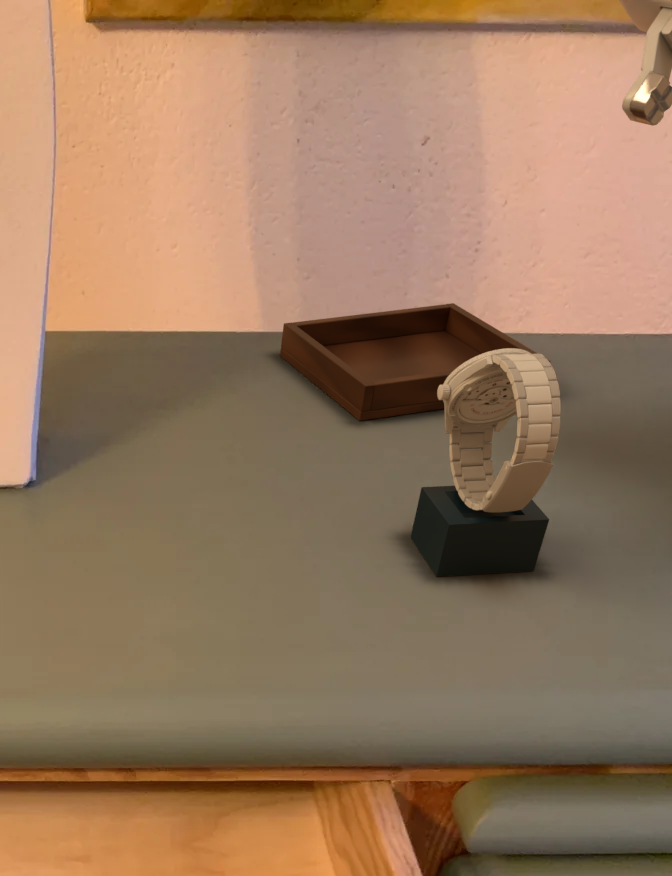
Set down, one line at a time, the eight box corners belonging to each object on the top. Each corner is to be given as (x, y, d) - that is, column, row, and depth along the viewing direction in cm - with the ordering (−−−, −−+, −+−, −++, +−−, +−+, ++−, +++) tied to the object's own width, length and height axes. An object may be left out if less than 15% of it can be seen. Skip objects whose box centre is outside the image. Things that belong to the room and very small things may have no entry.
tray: (446, 334, 90) (453, 302, 88) (541, 395, 81) (551, 360, 80) (279, 355, 87) (283, 323, 85) (359, 421, 78) (365, 386, 76)
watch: (490, 516, 68) (541, 326, 60) (546, 587, 62) (611, 386, 55) (397, 521, 67) (438, 329, 60) (446, 593, 61) (497, 391, 54)
